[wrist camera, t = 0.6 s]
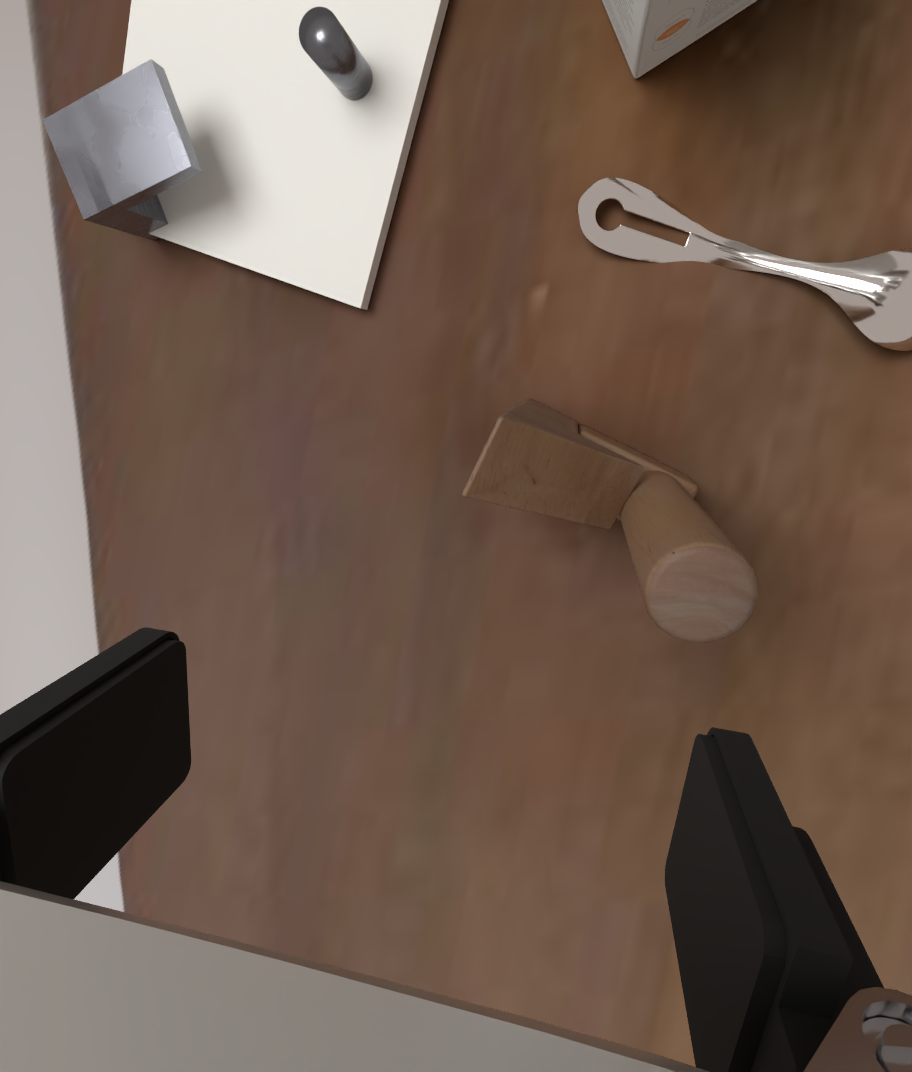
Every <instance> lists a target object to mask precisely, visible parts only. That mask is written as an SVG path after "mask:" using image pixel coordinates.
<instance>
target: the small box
mask: <svg viewBox="0 0 912 1072" xmlns="http://www.w3.org/2000/svg"><path fill="white" fill-rule="evenodd" d="M756 1H757V0H602V2H603V4H604V7H605V9H606V11H607V14H608V16H609V19H610V21H611V24H612V26H613V28H614V31H615V33H616V36H617V38H618V41H619V43H620V45H621V48H622V50H623V53H624V55H625V58H626V60H627V63H628V65H629V67H630V70H631V72H632V75H633V77H634V78H635V79H636V78H639V77H640V76H642V75H643V74H645V73H646V72H648V71H649V70H651V69H653V68H654V67H656V66H657V65H659V64H660V63H662V62H664V61H665V60H667V59H668V58H670V57H671V56H673V55H674V54H676V53H677V52H679V51H681V50H682V49H684V48H685V47H687V46H688V45H690V44H691V43H693V42H694V41H696V40H698V39H699V38H701V37H702V36H704V35H705V34H707V33H708V32H710V31H711V30H713V29H714V28H716V27H717V26H719V25H721V24H722V23H724V22H725V21H727V20H728V19H730V18H731V17H733V16H734V15H736V14H737V13H739V12H741V11H742V10H744V9H745V8H747V7H748V6H750V5H751V4H753V3H754V2H756Z"/></svg>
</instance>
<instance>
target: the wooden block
mask: <svg viewBox="0 0 912 1072" xmlns="http://www.w3.org/2000/svg"><path fill="white" fill-rule="evenodd" d="M697 492H698V487H697V486H696V484H695V483H694V482H693V481H692V480H691V479H690V478H689V477H688V476H687V475H685V474H683V473H681V472H679V471H677V470H675V469H673V468H671V467H669V466H667V465H665V464H663V463H661V462H659V461H657V460H655V459H653V458H650V457H648V456H646V455H644V454H642V453H640V452H638V451H636V450H634V449H632V448H630V447H628V446H626V445H624V444H622V443H620V442H618V441H616V440H614V439H612V438H610V437H608V436H606V435H604V434H602V433H600V432H597V431H595V430H593V429H591V428H589V427H587V426H585V425H581V426H579V427H578V423H577V422H576V421H575V420H573V419H571V418H569V417H567V416H565V415H563V414H561V413H559V412H557V411H555V410H553V409H551V408H549V407H547V406H545V405H542V404H540V403H538V402H536V401H534V400H532V399H526V400H524V401H523V402H522V403H520V404H519V405H516V406H514V407H513V408H511V409H510V410H509V411H507V412H506V413H504V414H503V415H501V416H500V417H499V418H498V419H497V421H496V423H495V425H494V427H493V430H492V432H491V434H490V436H489V438H488V440H487V442H486V444H485V446H484V448H483V450H482V453H481V455H480V457H479V459H478V461H477V463H476V465H475V467H474V469H473V471H472V474H471V476H470V478H469V480H468V482H467V484H466V486H465V488H464V490H463V492H462V494H463V496H464V497H466V498H471V499H475V500H480V501H484V502H488V503H493V504H497V505H502V506H506V507H510V508H515V509H519V510H524V511H528V512H532V513H537V514H541V515H546V516H550V517H554V518H559V519H563V520H568V521H572V522H576V523H581V524H585V525H590V526H594V527H598V528H603V529H607V530H608V529H610V528H611V527H612V525H613V523H614V522H615V520H616V519H618V520H620V521H621V523H622V527H623V530H624V533H625V537H626V540H627V544H628V547H629V551H630V554H631V557H632V561H633V564H634V568H635V571H636V575H637V578H638V581H639V585H640V588H641V592H642V595H643V599H644V602H645V605H646V608H647V612H648V614H649V615H650V617H651V618H652V620H653V621H654V622H655V624H656V625H657V626H658V627H659V628H660V629H662V630H663V631H665V632H666V633H668V634H669V635H670V636H672V637H675V638H678V639H681V640H684V641H687V642H702V643H707V642H711V641H716V640H720V639H723V638H725V637H727V636H729V635H731V634H732V633H734V632H736V631H738V630H739V629H740V628H741V627H742V626H743V625H744V623H745V622H746V621H747V620H748V619H749V618H750V616H751V614H752V612H753V610H754V607H755V605H756V603H757V597H758V587H759V586H758V582H757V578H756V575H755V571H754V569H753V568H752V566H751V565H750V563H749V562H748V561H747V559H746V558H745V556H744V555H743V554H742V553H741V552H740V551H739V550H738V548H737V547H736V546H735V545H734V544H733V543H732V542H731V541H730V539H729V538H728V537H727V536H726V535H725V534H724V533H723V531H722V530H721V529H720V528H719V527H718V526H717V525H716V524H715V522H714V521H713V520H712V519H711V518H710V517H709V516H708V514H707V513H706V512H705V511H704V510H703V509H702V508H701V506H700V505H699V504H698V503H697V502H696V501H695V500H694V499H693V498H694V497H695V495H696V493H697Z"/></svg>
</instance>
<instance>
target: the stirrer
mask: <svg viewBox="0 0 912 1072" xmlns="http://www.w3.org/2000/svg"><path fill="white" fill-rule="evenodd" d="M608 199H613V200H616V201H618V202H619V203H620V204H621V206H622V208H623V210H624V211H626V212H629V213H632V214H635V215H637V216H640V217H643V218H646V219H649V220H652V221H655V222H658V223H660V224H663V225H666V226H669V227H672V228H675V229H678V230H680V231H683V232H686V233H688V234H689V235H688V237H687V240H686V243H685V245H684V246H682V245H679V244H676V243H673V242H670V241H667V240H664V239H661V238H658V237H655V236H653V235H650V234H647V233H644V232H641V231H638V230H635V229H632V228H629V227H627V226H624V225H619V226H618V227H617V228H616V229H614V230H604V229H602V228H601V227H600V226H599V225H598V223H597V221H596V210H597V208H598V206H599V205H600V204H601V203H602V202H603V201H605V200H608ZM577 216H578V222H579V227H580V229H581V232H582V233H583V235H584V236H585V237H586V238H587V239H588V240H589V241H590V242H591V243H593V244H594V245H596V246H597V247H599V248H601V249H603V250H605V251H607V252H610V253H613V254H616V255H619V256H623V257H627V258H631V259H636V260H642V261H649V262H656V263H664V262H674V261H701V262H708V263H713V264H716V265H720V266H723V267H726V268H728V269H738V270H748V271H757V272H764V273H770V274H776V275H781V276H785V277H789V278H793V279H796V280H799V281H802V282H805V283H807V284H809V285H812V286H814V287H816V288H817V289H819V290H821V291H823V292H824V293H826V294H827V295H828V296H829V297H831V298H832V299H833V300H834V301H835V302H836V303H837V304H838V305H839V306H840V307H841V308H842V310H843V311H844V312H845V313H846V314H847V316H848V317H849V318H850V319H851V321H852V322H853V323H854V324H855V325H856V327H857V328H858V329H859V330H860V331H861V332H862V333H863V334H864V335H865V336H866V337H868V338H869V339H870V340H872V341H873V342H875V343H877V344H879V345H881V346H883V347H885V348H889V349H892V350H898V351H909V350H912V248H905V249H899V250H894V251H889V252H885V253H881V254H878V255H874V256H870V257H867V258H863V259H858V260H853V261H848V262H839V263H816V262H807V261H800V260H795V259H790V258H786V257H782V256H778V255H774V254H771V253H768V252H765V251H762V250H759V249H756V248H754V247H751V246H749V245H746V244H744V243H741V242H738V241H733V240H729V239H726V238H723V237H720V236H718V235H716V234H714V233H712V232H710V231H708V230H706V229H705V228H703V227H702V226H700V225H699V224H698V223H697V222H695V221H694V220H693V219H691V218H690V217H689V216H688V215H687V214H686V213H684V212H683V211H682V210H681V209H680V208H678V207H677V206H675V205H673V204H672V203H670V202H669V201H667V200H665V199H664V198H662V197H661V196H659V195H657V194H655V193H654V192H652V191H650V190H648V189H646V188H644V187H642V186H640V185H638V184H636V183H634V182H631V181H628V180H625V179H620V178H604V179H601V180H599V181H597V182H596V183H594V184H593V185H592V186H591V187H590V188H589V189H587V190H586V191H585V192H584V193H583V194H582V195H581V197H580V198H579V200H578V203H577Z"/></svg>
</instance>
